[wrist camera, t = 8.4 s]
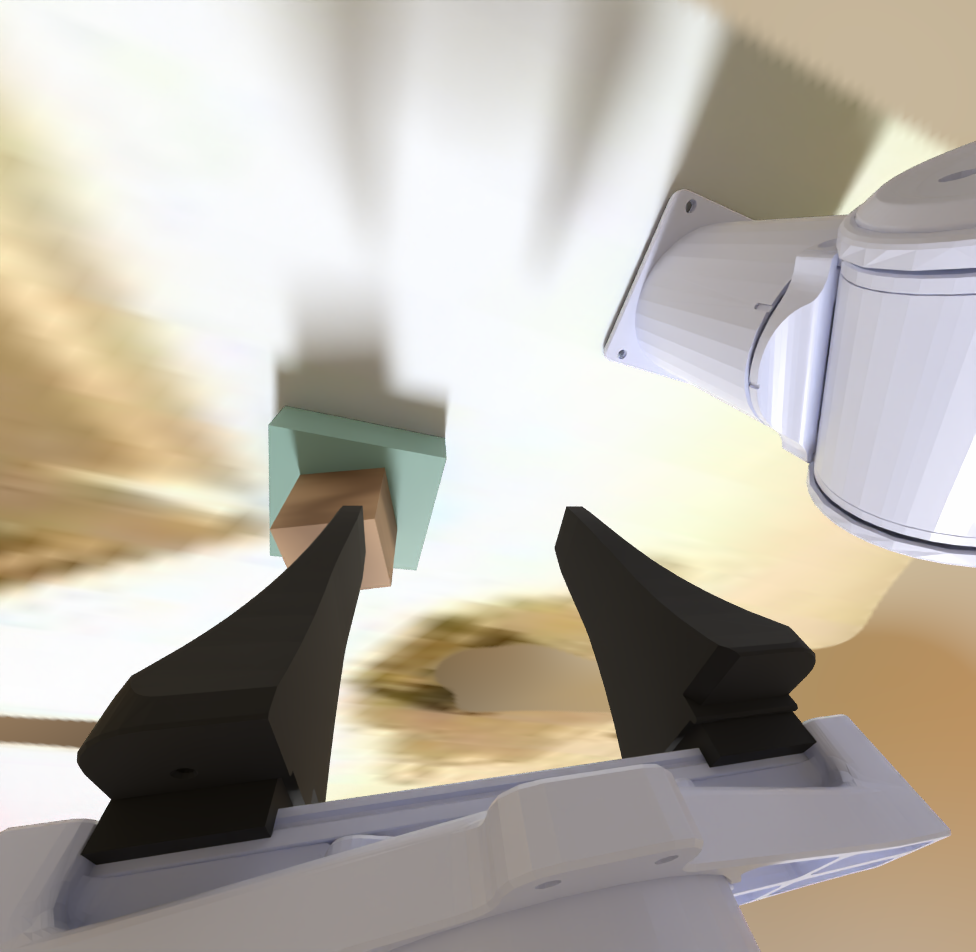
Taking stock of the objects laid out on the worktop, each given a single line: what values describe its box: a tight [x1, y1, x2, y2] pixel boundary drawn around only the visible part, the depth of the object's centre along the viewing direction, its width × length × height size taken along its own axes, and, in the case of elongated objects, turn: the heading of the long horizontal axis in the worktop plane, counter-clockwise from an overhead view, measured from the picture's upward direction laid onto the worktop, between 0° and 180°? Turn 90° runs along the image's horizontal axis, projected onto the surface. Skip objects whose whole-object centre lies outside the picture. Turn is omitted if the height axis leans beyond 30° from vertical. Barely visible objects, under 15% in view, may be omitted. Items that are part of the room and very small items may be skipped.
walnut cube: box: [270, 467, 397, 590], centre depth 19 cm, size 4×4×4 cm
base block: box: [268, 406, 446, 570], centre depth 23 cm, size 9×9×3 cm
